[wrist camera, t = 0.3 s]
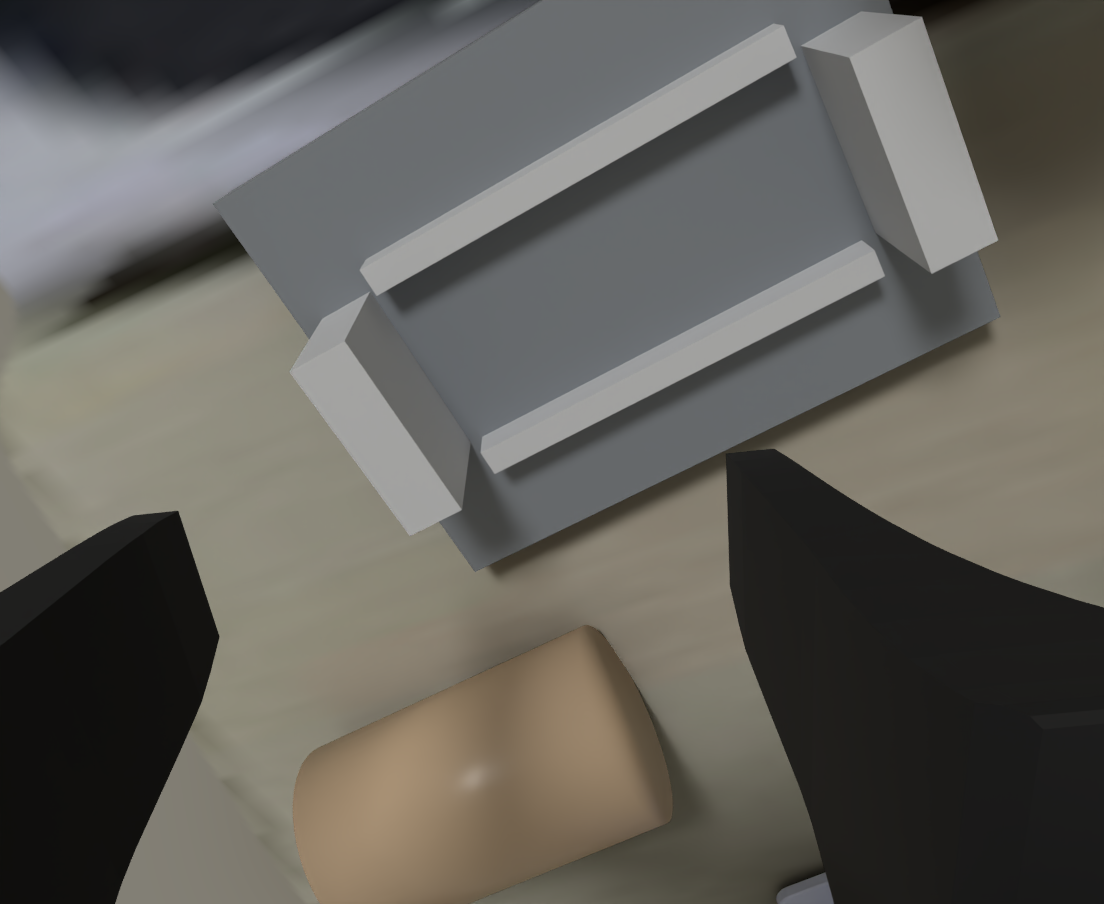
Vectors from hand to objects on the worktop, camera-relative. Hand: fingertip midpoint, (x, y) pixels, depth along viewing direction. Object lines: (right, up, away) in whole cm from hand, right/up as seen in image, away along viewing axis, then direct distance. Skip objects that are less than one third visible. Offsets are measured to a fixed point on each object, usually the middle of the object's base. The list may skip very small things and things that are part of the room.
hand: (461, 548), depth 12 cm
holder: (+3, +6, +8) cm, 10 cm away
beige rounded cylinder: (0, -7, +11) cm, 13 cm away
